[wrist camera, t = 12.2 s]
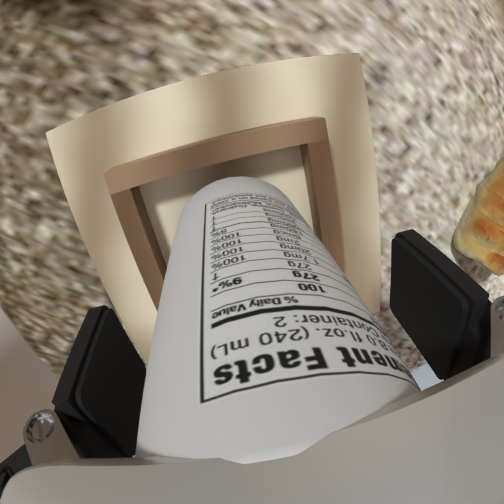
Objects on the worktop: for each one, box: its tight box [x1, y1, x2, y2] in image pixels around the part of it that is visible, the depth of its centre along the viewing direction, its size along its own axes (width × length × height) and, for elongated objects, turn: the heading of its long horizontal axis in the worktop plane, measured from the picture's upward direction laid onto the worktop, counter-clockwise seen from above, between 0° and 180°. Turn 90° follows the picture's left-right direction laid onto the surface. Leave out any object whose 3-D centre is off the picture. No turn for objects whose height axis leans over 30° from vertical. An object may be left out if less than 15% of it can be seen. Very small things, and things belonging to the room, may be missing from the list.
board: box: [46, 53, 381, 366], centre depth 16 cm, size 16×16×3 cm
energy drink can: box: [135, 176, 421, 464], centre depth 10 cm, size 6×6×15 cm
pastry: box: [453, 157, 504, 276], centre depth 18 cm, size 9×7×4 cm
